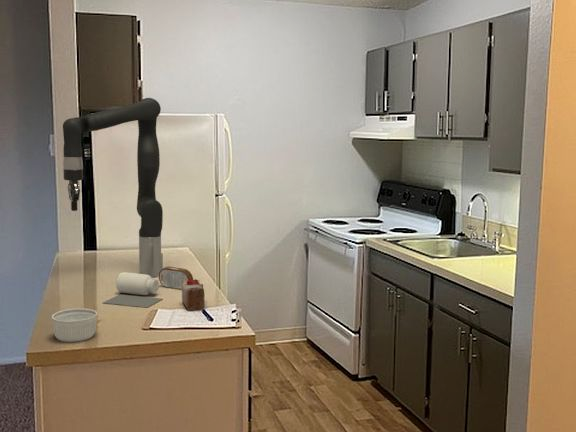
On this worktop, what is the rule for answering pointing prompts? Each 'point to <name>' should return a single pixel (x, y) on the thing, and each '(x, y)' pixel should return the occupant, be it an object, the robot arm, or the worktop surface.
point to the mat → (133, 301)
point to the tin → (174, 277)
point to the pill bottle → (136, 283)
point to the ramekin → (74, 324)
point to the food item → (193, 295)
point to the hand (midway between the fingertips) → (74, 210)
